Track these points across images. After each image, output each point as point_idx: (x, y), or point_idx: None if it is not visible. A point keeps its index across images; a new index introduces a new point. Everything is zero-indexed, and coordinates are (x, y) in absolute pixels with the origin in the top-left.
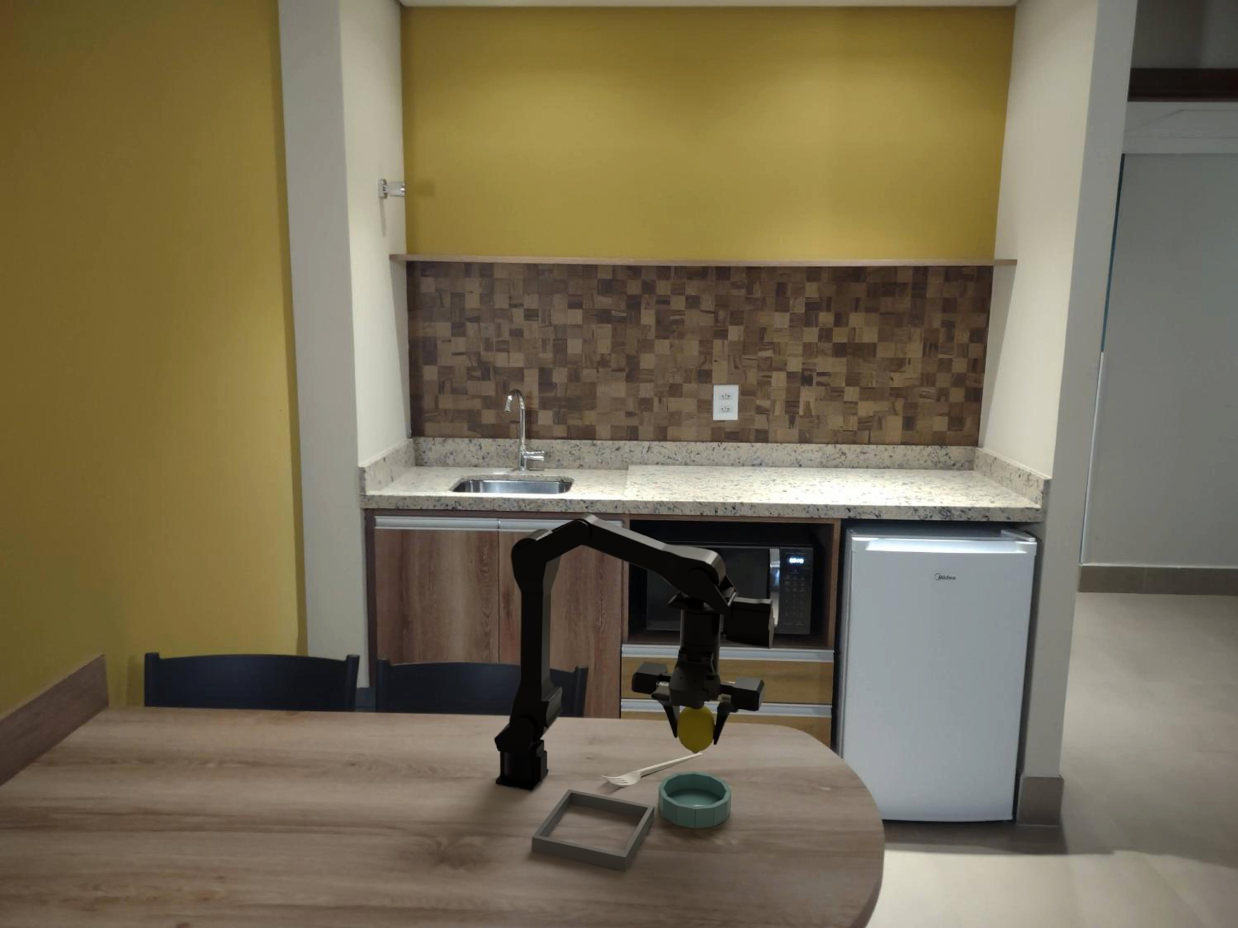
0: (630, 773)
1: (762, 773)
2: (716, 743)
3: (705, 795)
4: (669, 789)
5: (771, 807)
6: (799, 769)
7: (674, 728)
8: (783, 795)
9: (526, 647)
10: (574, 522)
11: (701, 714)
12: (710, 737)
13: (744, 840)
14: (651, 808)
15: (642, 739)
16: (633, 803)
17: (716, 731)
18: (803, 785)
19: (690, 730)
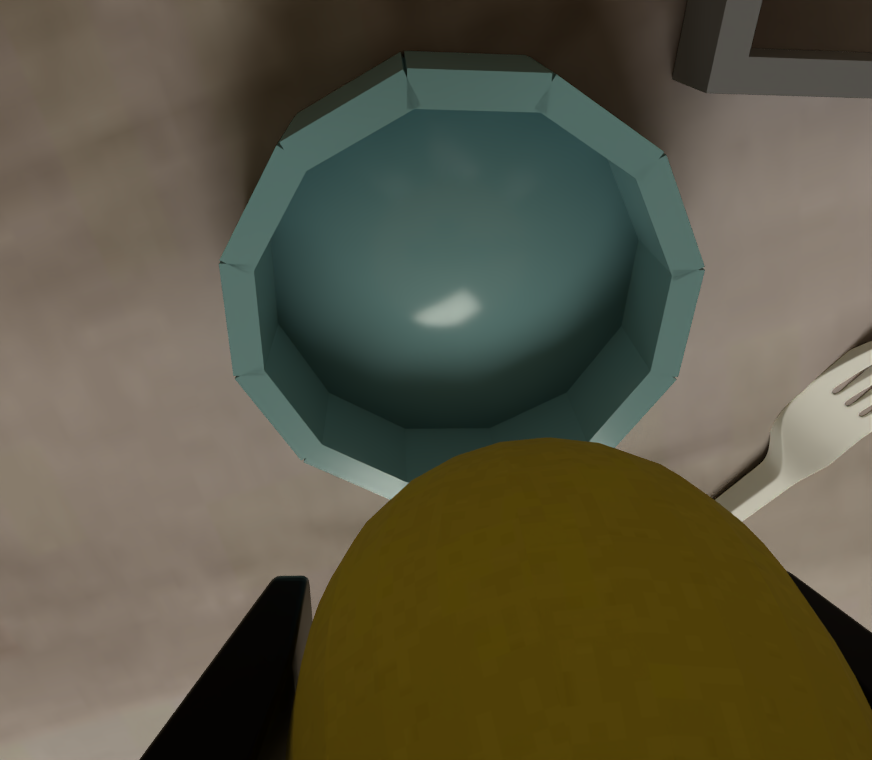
0: (822, 459)
1: (215, 635)
2: (266, 587)
3: (414, 384)
4: (618, 350)
5: (62, 408)
6: (79, 700)
7: (860, 660)
8: (55, 518)
9: None
10: None
11: None
12: (319, 621)
13: (56, 11)
14: (725, 49)
15: None
16: (854, 77)
17: (226, 735)
18: (8, 611)
19: (663, 622)
